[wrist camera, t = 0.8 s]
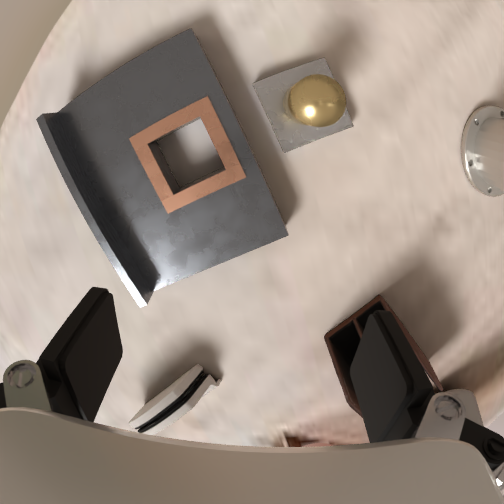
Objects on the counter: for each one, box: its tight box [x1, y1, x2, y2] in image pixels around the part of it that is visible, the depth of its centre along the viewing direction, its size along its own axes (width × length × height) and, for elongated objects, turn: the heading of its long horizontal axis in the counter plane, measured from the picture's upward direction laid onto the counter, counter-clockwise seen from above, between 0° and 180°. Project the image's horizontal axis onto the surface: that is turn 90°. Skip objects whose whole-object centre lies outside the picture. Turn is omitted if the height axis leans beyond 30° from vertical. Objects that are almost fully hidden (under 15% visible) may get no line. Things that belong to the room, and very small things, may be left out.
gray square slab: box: [253, 58, 353, 153], centre depth 30 cm, size 8×8×2 cm
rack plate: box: [36, 29, 288, 307], centre depth 30 cm, size 18×24×6 cm
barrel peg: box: [283, 74, 346, 127], centre depth 26 cm, size 4×4×7 cm
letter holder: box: [324, 295, 443, 418], centre depth 38 cm, size 10×20×14 cm, turn 43°
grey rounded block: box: [129, 364, 222, 435], centre depth 44 cm, size 17×5×10 cm, turn 137°
